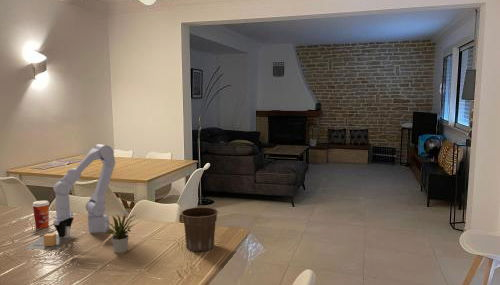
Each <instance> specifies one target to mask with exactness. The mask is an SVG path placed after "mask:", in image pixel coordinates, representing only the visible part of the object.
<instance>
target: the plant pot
mask: <svg viewBox="0 0 500 285" xmlns="http://www.w3.org/2000/svg"><path fill="white" fill-rule="evenodd" d="M180 214H181V216H182V221H183V226H184V234H185V246H186V248H187V250H188V251H191V252H200V251H202V252H205V251H210V250H211V249H213V248H214V247H215V234H216V222H217V217H218V214H219V210H218V209H216V208H213V207H207V206H205V207H204V206H201V207H200V206H199V207H197V206H196V207H190V208H186V209H184V210H182V211H181V213H180Z"/></svg>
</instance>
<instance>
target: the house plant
mask: <svg viewBox="0 0 500 285" xmlns="http://www.w3.org/2000/svg"><path fill="white" fill-rule="evenodd" d="M135 216H136V214H134V215H131V216H129V217H128V218H127V219H126V213H125V214H124V215H123V217H122V219H121V217H120V216H119V215H118V214H116V217H115V215H112V220H113V222H114V223H113V224H114V225H113V224H111V223H110V221H109V222H108V223H109V226H111V227H112V229H111V227H110V228H108V230H107V231H106V233H108V234H111V235H112V237H111V242H112V246H113V251H114V253H117V254H118V253H119V254H120V253H121V254H122V253H125V252H126V251H128V243H129V233H131V231H132V230H131V228H132V229H133V226H134V224H132V225H131V226H130V224H131V223H132V221H133V222H134V221H135V220H136V218H135V219H131V218H133V217H135ZM125 220H126V221H125ZM103 221H104V220H103ZM106 222H107V221H106Z"/></svg>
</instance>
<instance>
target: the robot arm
mask: <svg viewBox="0 0 500 285" xmlns="http://www.w3.org/2000/svg"><path fill="white" fill-rule="evenodd" d="M114 154H115V151H114V149H113V148H112V147H111V146H110V145H108V144H106V145H105V144H102V143H97V144H95V145H94V146H93V147H92V148H91V149H90V150H89V151H88V153H87V154H86V155H85V156H84V157H83V158H82V160H81V161H80V162H79V163H78V165H77V166H76V167H75V168H74V167H73V168H70V169H68V170H66V174H64V176H63V177H60V178H59V181H57V182H55V183H54V185H53V187H52V189H53V191H54V192H55V213H56V215H55V216H53V218H54V220H53V227H55V229H56V232H57V235H59V237H64V236H65V228H66V226H70V229H72V228H71V227H72V223H73V221H74V217H73V213H74V212H73V211H71V208H70V205H71V204H70V192H71V189H72V187H73V186H74V185H75V184H76V183H77V181H78V180H79V179H80V178H82V172H84V171H85V169H87V167H88V166H90V165H91V164H92V163H93V162H94V161H97V160H98V161H99V160H100V161H101V163H102V166H101V170H100V173H99V176H98V180H97V183H96V186H95V188H94V191H93V194H92V195H91V196H90V198H89V200H88V201H87V202H86V204H85V211H87V212H88V213H87V224H88V225H87V228H88V232H89V233H91V234H96V233H107V231H109V229H108V228H110V229H111V227H110V224H109V223H110V216H109V215H108V214H104V213H105V211H106V199H105V197H106V194H107V191H108V188H109V184H110V181H111V179H112V178H111V177H112V174H113V172H114V168H115V165H116V160H115V155H114ZM103 220H104V221H103ZM106 221H107V222H106ZM108 222H109V223H108Z"/></svg>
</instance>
